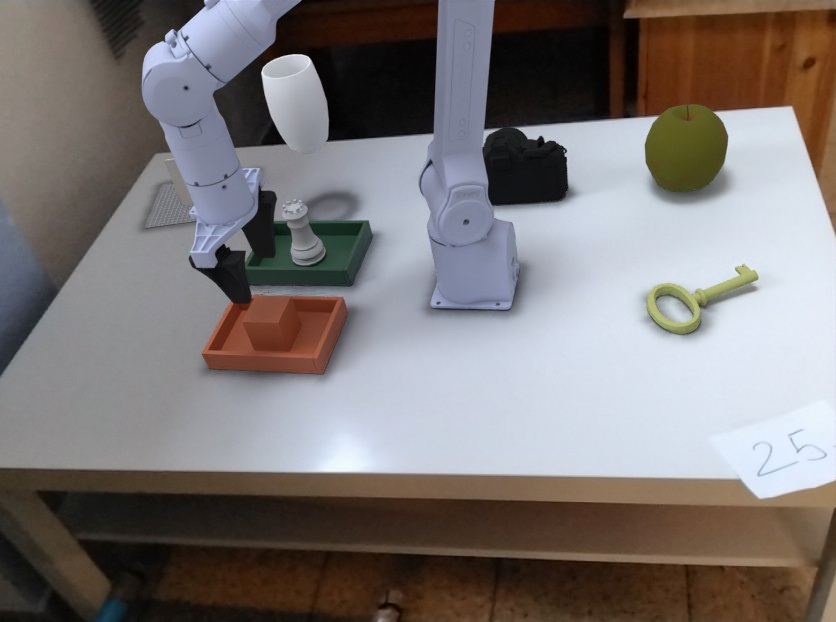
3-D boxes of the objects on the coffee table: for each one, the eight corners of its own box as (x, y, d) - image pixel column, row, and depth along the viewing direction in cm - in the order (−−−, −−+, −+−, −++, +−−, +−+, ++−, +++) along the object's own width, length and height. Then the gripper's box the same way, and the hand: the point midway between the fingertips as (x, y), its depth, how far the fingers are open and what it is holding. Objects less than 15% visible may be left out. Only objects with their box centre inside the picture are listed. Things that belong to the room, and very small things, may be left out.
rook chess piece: (300, 272, 104) (281, 220, 99) (288, 255, 107) (269, 204, 102) (331, 258, 105) (315, 206, 100) (319, 242, 108) (302, 190, 103)
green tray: (373, 235, 108) (368, 219, 107) (351, 286, 102) (346, 270, 100) (274, 235, 112) (268, 220, 110) (247, 284, 105) (240, 269, 104)
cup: (363, 208, 113) (326, 63, 98) (318, 232, 111) (272, 86, 96) (338, 188, 118) (298, 46, 103) (294, 210, 116) (247, 68, 101)
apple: (678, 215, 101) (684, 135, 93) (627, 183, 107) (628, 105, 100) (740, 183, 103) (751, 102, 96) (687, 153, 110) (692, 75, 102)
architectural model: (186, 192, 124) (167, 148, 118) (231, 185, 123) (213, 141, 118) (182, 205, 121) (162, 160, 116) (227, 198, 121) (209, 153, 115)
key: (761, 286, 90) (764, 270, 89) (680, 341, 86) (681, 326, 85) (710, 257, 95) (711, 242, 93) (631, 309, 91) (631, 294, 90)
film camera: (570, 162, 113) (567, 101, 106) (568, 204, 106) (565, 142, 100) (461, 169, 116) (452, 110, 110) (452, 210, 110) (442, 150, 103)
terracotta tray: (348, 312, 98) (343, 296, 97) (323, 374, 92) (317, 358, 90) (240, 309, 102) (234, 294, 100) (208, 368, 95) (201, 353, 94)
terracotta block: (301, 324, 97) (291, 295, 94) (289, 351, 94) (278, 322, 91) (267, 323, 99) (255, 295, 95) (253, 350, 96) (241, 321, 92)
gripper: (203, 132, 86) (245, 237, 96) (142, 214, 77) (195, 322, 86) (265, 129, 84) (301, 237, 94) (210, 213, 75) (257, 324, 85)
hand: (254, 278), depth 90 cm, fingers open, 7 cm apart
